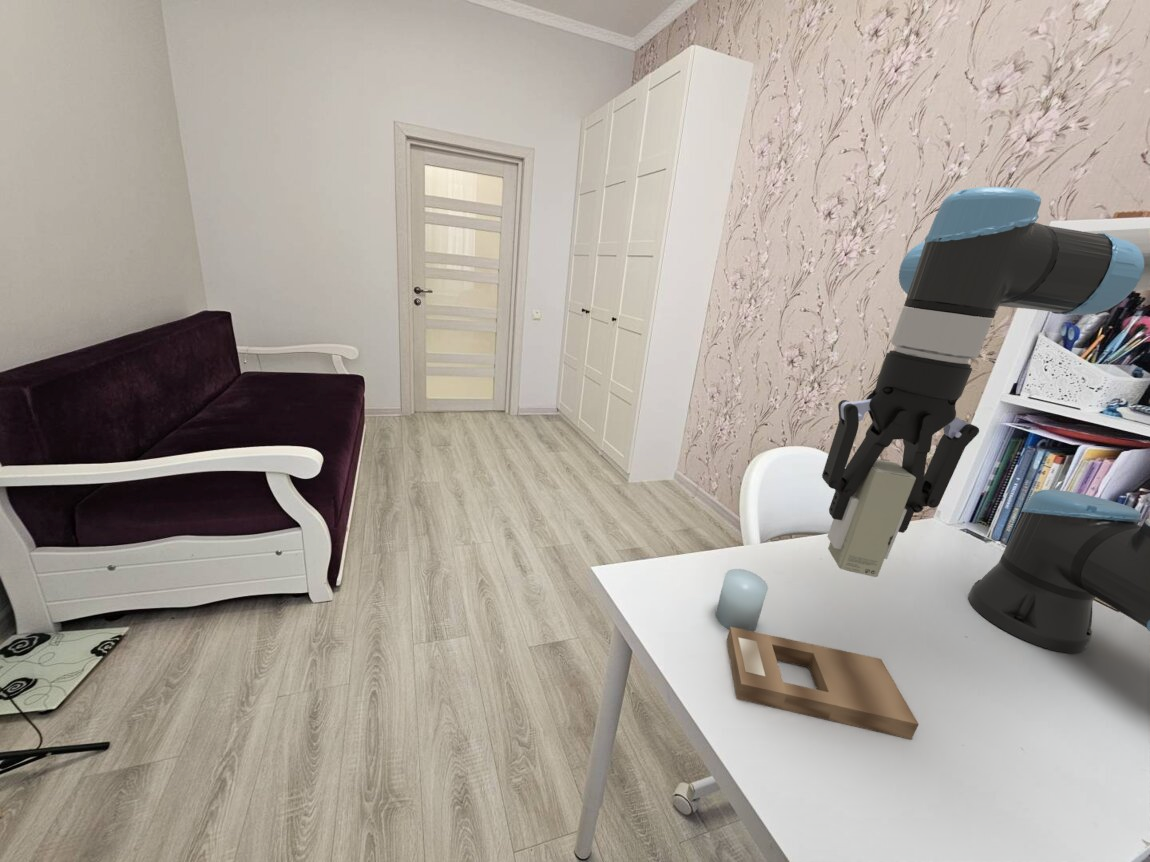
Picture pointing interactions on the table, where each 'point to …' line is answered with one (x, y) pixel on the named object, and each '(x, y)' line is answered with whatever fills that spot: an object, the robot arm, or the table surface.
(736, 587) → the pale blue capsule
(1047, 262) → the robot arm
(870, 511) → the box
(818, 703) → the brown flat wooden slab
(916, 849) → the table surface
